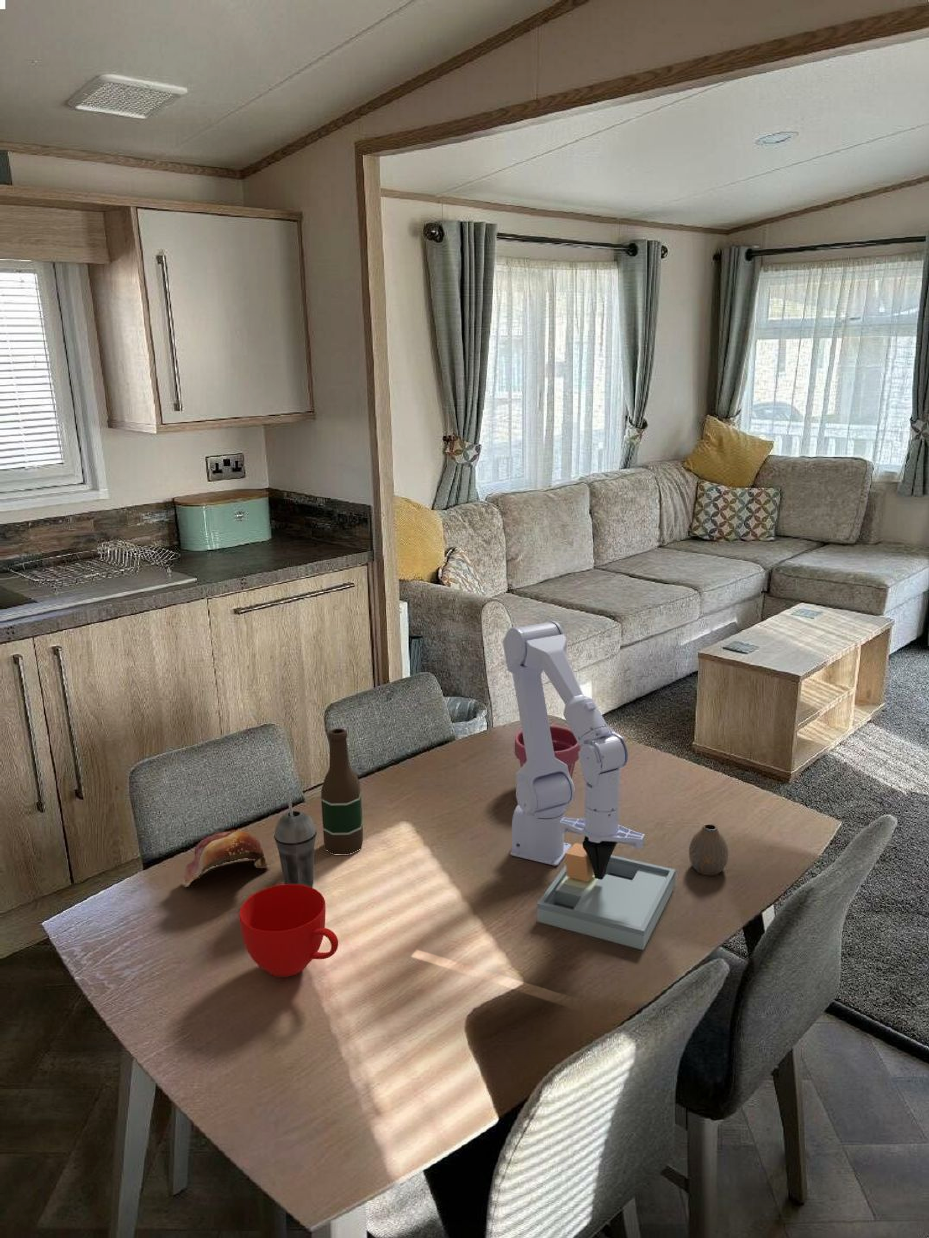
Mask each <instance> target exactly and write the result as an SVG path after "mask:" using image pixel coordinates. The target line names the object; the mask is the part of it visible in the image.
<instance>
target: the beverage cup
mask: <svg viewBox="0 0 929 1238" xmlns="http://www.w3.org/2000/svg"><path fill="white" fill-rule="evenodd" d="M286 798H287V804H288V810H289V811H288V812H286V813H284V814H283V815H282V816H281V817H280V818H279V819H278V821H277V823H276V825H275V828H274V836H273V838H274V841H275V844H276V849H277V851H278V855H279V861H280V867H281V871H282V878H283V879H282V880H283V885H284V884H299V885H305V886H309V887H312V888H313V887H314V872H315V871H314V869H315V867H314V866H315V862H314V861H315V845H316V837H317V833H318V832H317V830H316V829H317V828H316V826H315V823H314V821H313V819H312V817H311V816H309V815H308V814H307V813H305V812H303V811H300V810H293V804H292V798H291V792H290V791H287V792H286Z"/></svg>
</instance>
